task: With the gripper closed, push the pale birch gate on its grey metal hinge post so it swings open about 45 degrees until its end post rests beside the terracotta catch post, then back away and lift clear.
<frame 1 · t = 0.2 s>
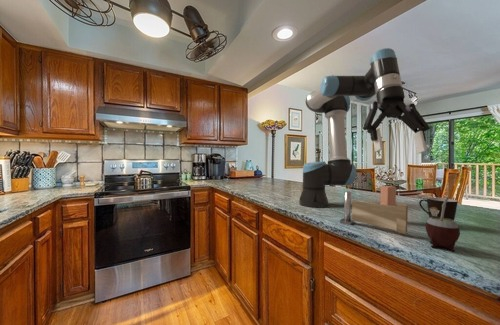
hand: (400, 151, 64), 27 cm above the worktop, tool tilted 15°, fingers open, 13 cm apart
mate gourd: (442, 248, 58), on the worktop
hinge post: (347, 222, 81), on the worktop
catch post: (387, 221, 83), on the worktop
coffee mug: (438, 225, 80), on the worktop
gate: (377, 214, 73), point 6 cm above the worktop, hinge at 0.0°
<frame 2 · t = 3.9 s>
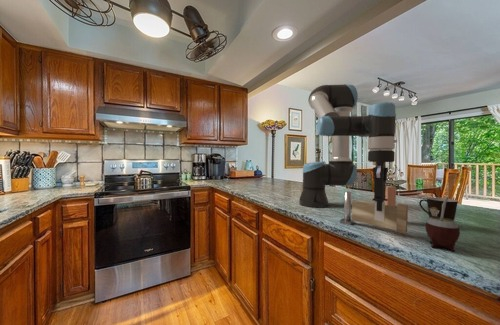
hand: (379, 220, 70), 4 cm above the worktop, tool pointing down, fingers closed
gate: (377, 214, 73), point 5 cm above the worktop, hinge at 0.3°, touching gripper
everything else where it was.
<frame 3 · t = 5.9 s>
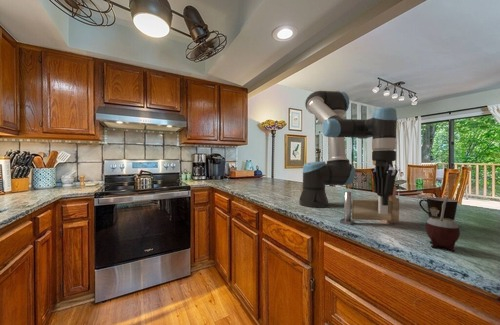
hand: (382, 213, 77), 5 cm above the worktop, tool pointing down, fingers closed
gate: (374, 209, 80), point 5 cm above the worktop, hinge at 45.4°, touching catch post, gripper
everything else where it was.
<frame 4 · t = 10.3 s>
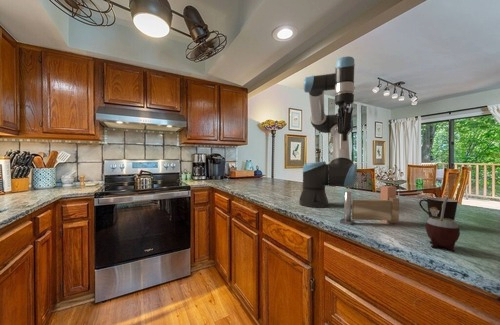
hand: (343, 148, 91), 29 cm above the worktop, tool pointing down, fingers closed
gate: (374, 209, 80), point 6 cm above the worktop, hinge at 45.4°, touching catch post
everything else where it was.
at the end: gate at +45° (first picture: +0°); mate gourd moved 0.2 cm from its start; coffee mug moved 0.2 cm from its start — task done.
